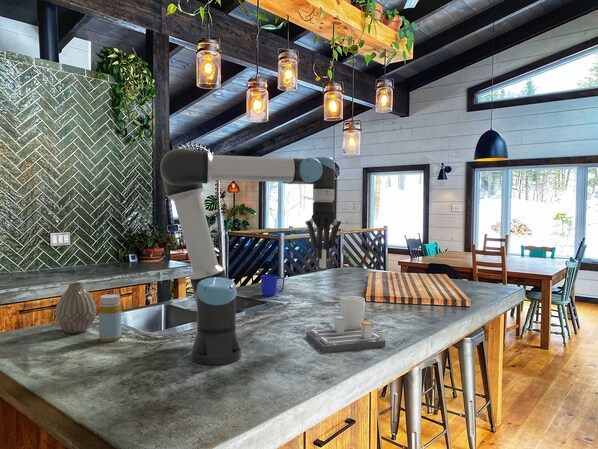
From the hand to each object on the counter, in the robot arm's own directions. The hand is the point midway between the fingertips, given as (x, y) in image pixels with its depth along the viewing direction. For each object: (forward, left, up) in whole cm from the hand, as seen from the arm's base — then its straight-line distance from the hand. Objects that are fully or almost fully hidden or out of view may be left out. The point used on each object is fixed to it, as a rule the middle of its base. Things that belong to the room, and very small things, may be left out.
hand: (322, 267), depth 158 cm
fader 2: (+11, -13, -22) cm, 28 cm away
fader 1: (+5, -4, -22) cm, 23 cm away
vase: (-84, +29, -25) cm, 92 cm away
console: (+5, -9, -24) cm, 26 cm away
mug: (0, +71, -25) cm, 76 cm away
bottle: (-71, +15, -25) cm, 77 cm away
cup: (+13, +3, -25) cm, 28 cm away
